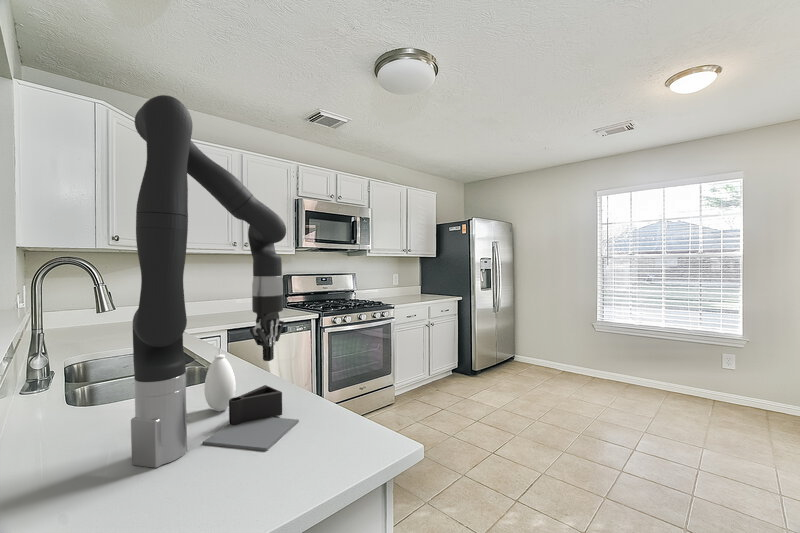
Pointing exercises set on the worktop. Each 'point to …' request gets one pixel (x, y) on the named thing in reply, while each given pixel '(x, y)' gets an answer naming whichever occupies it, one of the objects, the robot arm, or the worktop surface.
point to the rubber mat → (252, 434)
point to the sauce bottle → (219, 383)
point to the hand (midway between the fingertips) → (268, 360)
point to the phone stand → (255, 405)
